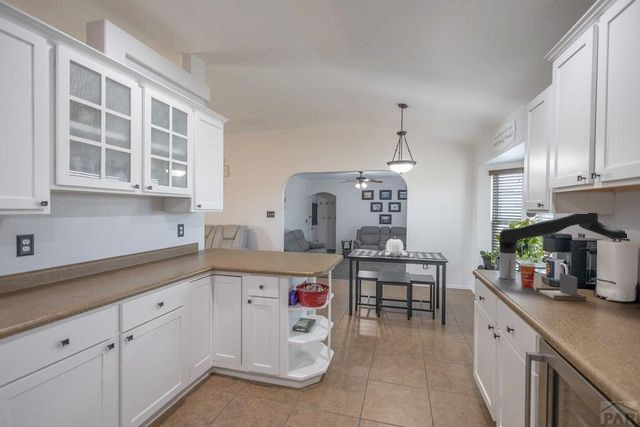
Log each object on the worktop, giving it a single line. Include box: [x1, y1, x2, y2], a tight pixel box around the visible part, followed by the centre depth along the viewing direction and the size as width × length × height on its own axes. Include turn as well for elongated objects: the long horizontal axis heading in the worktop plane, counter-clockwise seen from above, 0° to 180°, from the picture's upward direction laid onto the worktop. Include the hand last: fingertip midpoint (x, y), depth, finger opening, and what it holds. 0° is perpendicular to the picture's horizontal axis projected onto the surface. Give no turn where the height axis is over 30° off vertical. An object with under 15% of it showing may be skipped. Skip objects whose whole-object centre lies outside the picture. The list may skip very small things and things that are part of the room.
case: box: [535, 287, 587, 301], centre depth 164 cm, size 16×15×2 cm
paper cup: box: [519, 261, 536, 289], centre depth 183 cm, size 8×8×14 cm
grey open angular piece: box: [538, 272, 578, 300], centre depth 164 cm, size 12×12×11 cm
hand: (584, 251), depth 162 cm, fingers open, 6 cm apart
